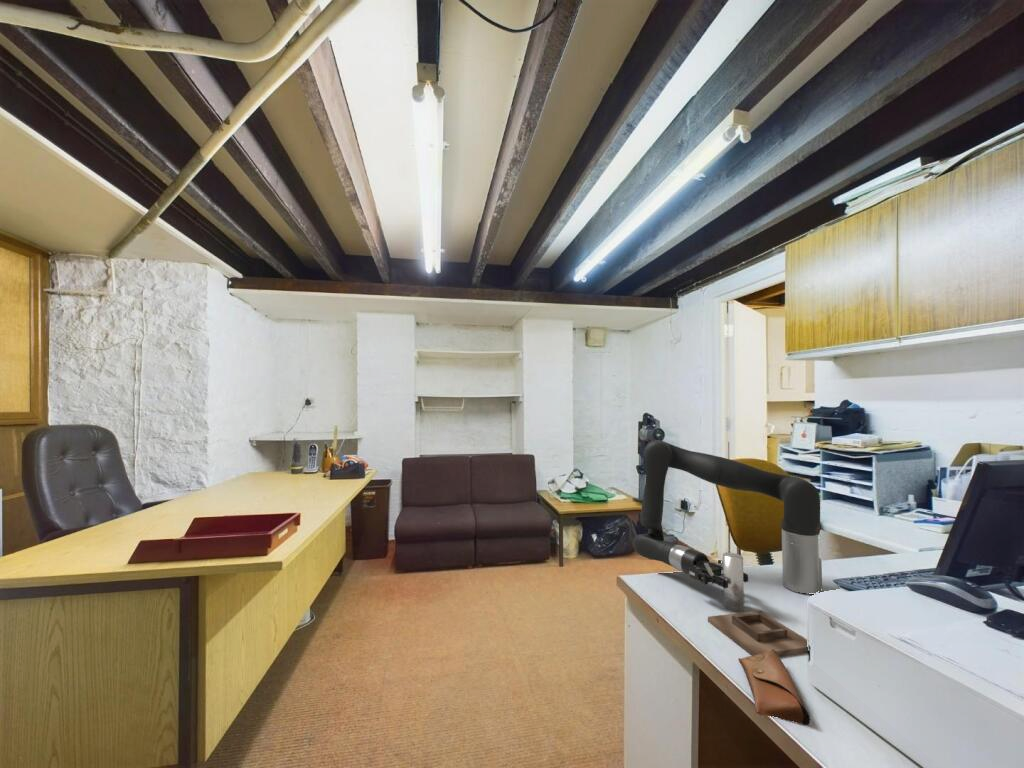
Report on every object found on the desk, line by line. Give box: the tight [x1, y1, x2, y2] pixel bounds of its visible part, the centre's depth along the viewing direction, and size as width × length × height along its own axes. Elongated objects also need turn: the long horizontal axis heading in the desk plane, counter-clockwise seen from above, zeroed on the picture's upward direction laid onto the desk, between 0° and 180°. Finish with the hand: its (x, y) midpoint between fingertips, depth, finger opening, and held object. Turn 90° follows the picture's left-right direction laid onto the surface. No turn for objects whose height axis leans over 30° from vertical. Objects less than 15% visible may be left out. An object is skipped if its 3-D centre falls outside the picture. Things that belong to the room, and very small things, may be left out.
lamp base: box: [707, 610, 808, 658], centre depth 99 cm, size 16×16×3 cm
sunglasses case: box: [738, 649, 811, 726], centre depth 81 cm, size 18×7×7 cm, turn 162°
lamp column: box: [722, 552, 745, 613], centre depth 113 cm, size 5×5×14 cm
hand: (737, 581), depth 112 cm, fingers open, 8 cm apart
